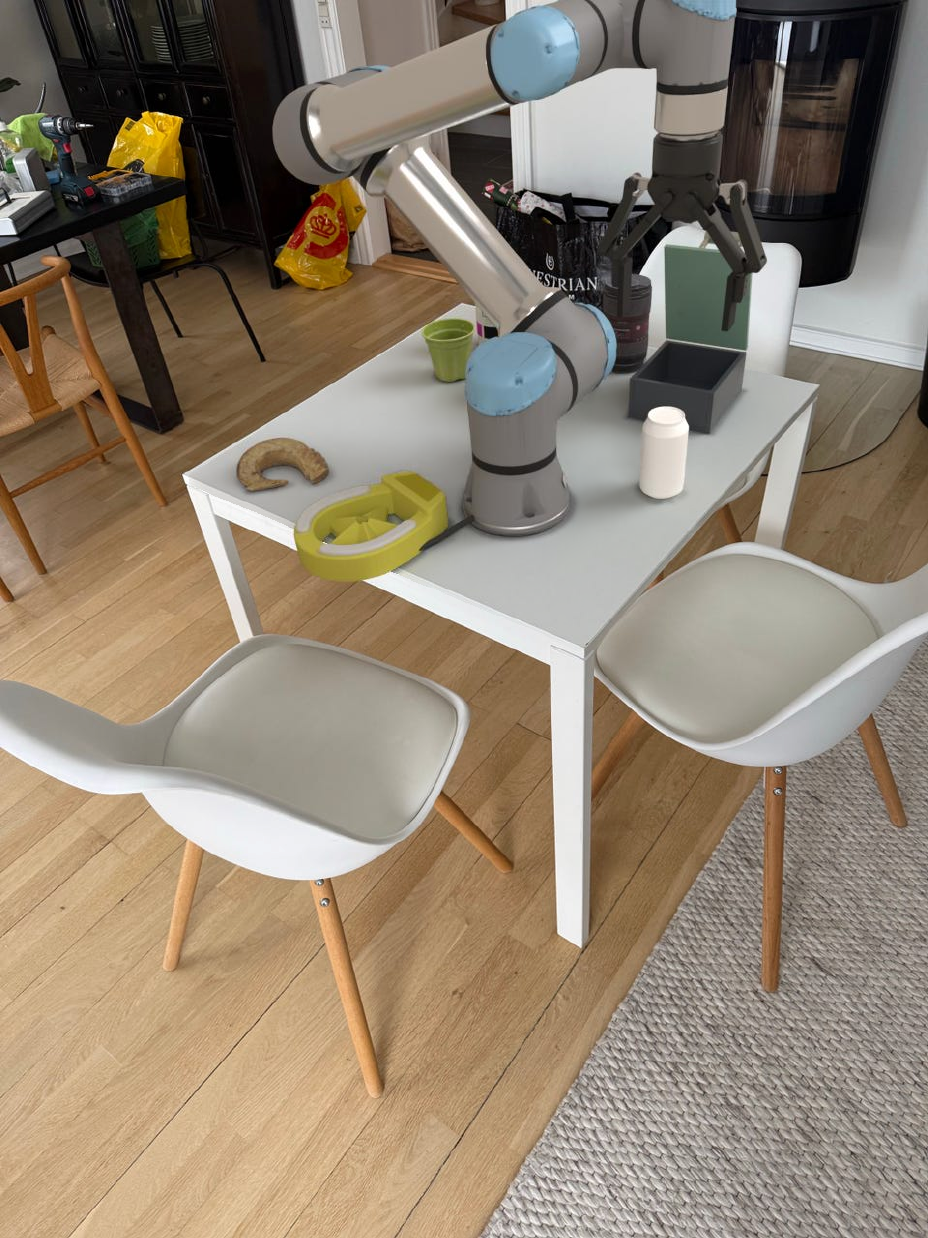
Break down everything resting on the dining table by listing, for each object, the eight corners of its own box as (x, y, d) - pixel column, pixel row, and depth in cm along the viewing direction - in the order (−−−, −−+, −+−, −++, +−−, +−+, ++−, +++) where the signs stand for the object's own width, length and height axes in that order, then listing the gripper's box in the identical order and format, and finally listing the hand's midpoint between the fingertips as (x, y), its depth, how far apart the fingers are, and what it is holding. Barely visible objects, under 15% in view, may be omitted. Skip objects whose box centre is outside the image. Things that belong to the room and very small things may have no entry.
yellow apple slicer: (465, 535, 124) (462, 504, 121) (335, 597, 116) (328, 566, 112) (402, 489, 135) (397, 460, 132) (278, 543, 126) (270, 513, 123)
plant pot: (469, 388, 158) (465, 341, 153) (419, 384, 161) (413, 338, 156) (485, 365, 165) (482, 319, 159) (437, 362, 168) (432, 316, 162)
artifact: (242, 435, 144) (334, 431, 142) (248, 451, 147) (338, 447, 145) (226, 484, 137) (323, 480, 135) (233, 500, 139) (328, 497, 138)
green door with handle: (752, 255, 132) (771, 224, 137) (664, 246, 138) (685, 216, 143) (746, 350, 145) (764, 319, 149) (665, 338, 151) (685, 308, 155)
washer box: (709, 433, 140) (714, 393, 136) (628, 417, 146) (629, 378, 142) (741, 390, 150) (746, 352, 146) (663, 377, 156) (666, 339, 151)
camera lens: (656, 367, 159) (661, 282, 149) (615, 378, 157) (618, 293, 147) (633, 351, 165) (636, 268, 155) (593, 361, 163) (595, 278, 153)
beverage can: (675, 506, 126) (681, 429, 118) (632, 497, 128) (636, 421, 121) (688, 483, 130) (696, 408, 122) (647, 475, 132) (651, 400, 125)
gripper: (813, 127, 96) (783, 321, 110) (597, 119, 107) (594, 296, 121) (794, 146, 92) (765, 345, 105) (570, 135, 102) (570, 317, 116)
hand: (674, 319), depth 113 cm, fingers open, 13 cm apart
